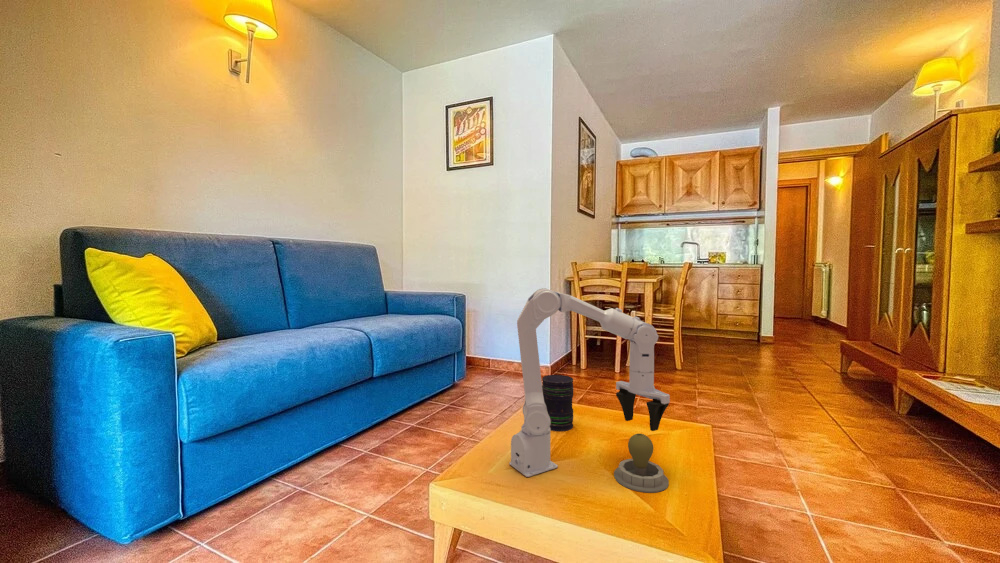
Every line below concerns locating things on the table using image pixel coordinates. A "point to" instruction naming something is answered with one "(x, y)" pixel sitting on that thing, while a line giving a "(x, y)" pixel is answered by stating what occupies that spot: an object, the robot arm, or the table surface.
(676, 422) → the table surface
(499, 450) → the table surface
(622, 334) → the robot arm
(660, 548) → the table surface
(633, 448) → the light bulb
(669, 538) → the table surface
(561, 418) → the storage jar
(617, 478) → the bulb holder
